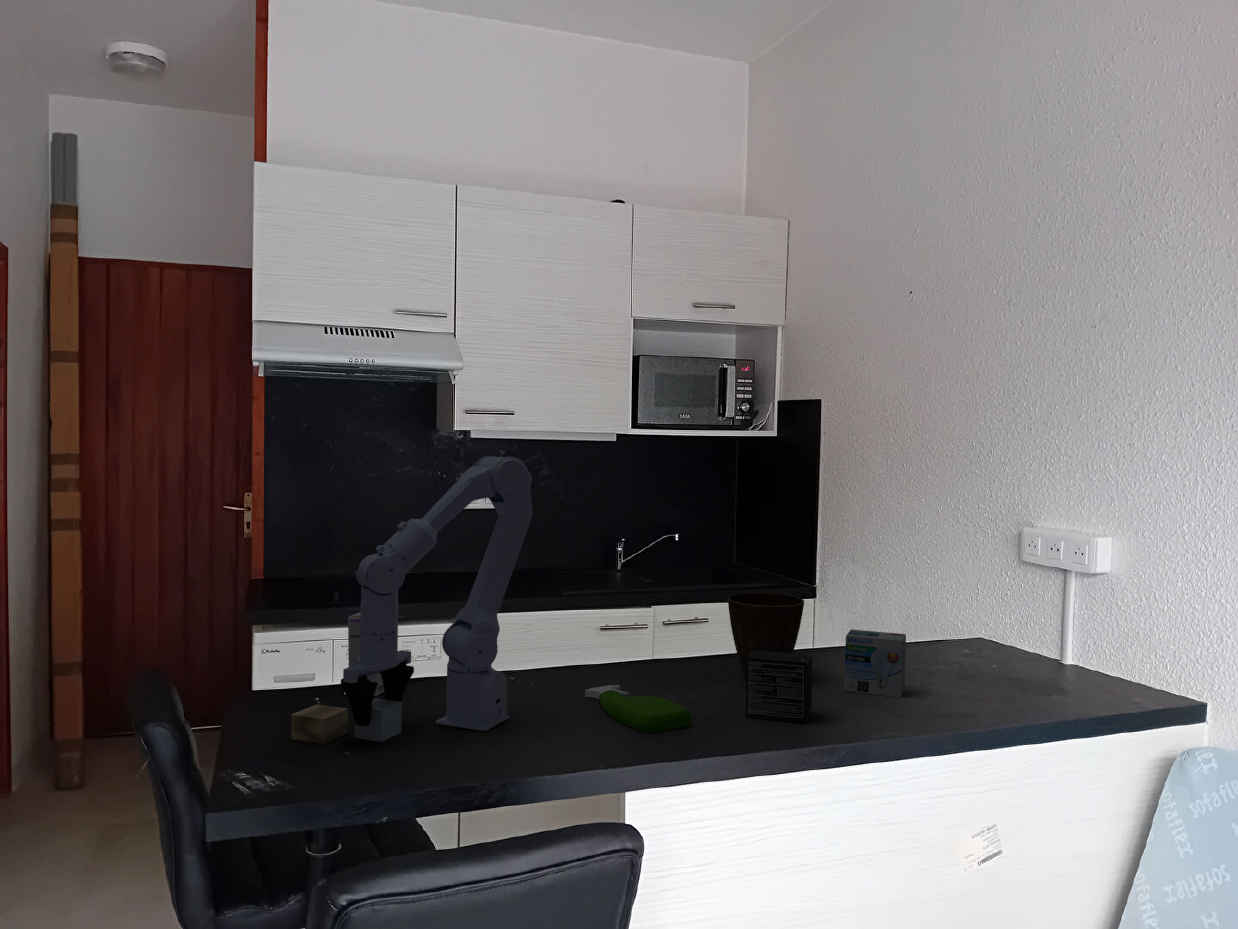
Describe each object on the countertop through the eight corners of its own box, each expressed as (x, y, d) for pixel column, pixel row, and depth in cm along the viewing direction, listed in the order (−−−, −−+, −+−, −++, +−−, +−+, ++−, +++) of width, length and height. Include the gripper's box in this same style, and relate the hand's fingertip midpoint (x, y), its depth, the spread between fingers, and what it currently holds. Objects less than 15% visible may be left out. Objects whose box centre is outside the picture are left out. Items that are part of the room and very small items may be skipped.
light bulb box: (843, 692, 174) (844, 634, 174) (848, 683, 180) (849, 628, 180) (902, 698, 170) (903, 640, 170) (905, 689, 176) (906, 633, 176)
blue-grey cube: (401, 733, 146) (401, 701, 146) (381, 742, 141) (381, 710, 141) (375, 729, 148) (375, 698, 148) (354, 738, 143) (355, 706, 143)
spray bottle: (641, 737, 146) (571, 701, 168) (698, 728, 152) (623, 694, 173) (641, 719, 146) (571, 685, 168) (698, 710, 152) (623, 678, 173)
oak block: (348, 733, 146) (348, 708, 145) (323, 745, 140) (323, 719, 140) (316, 729, 148) (316, 704, 148) (291, 740, 142) (291, 714, 142)
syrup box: (377, 696, 166) (378, 616, 166) (347, 694, 167) (347, 614, 167) (391, 688, 172) (392, 610, 171) (362, 686, 173) (362, 609, 172)
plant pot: (817, 679, 183) (818, 598, 182) (776, 694, 172) (778, 608, 171) (753, 666, 193) (754, 590, 192) (711, 679, 181) (712, 598, 181)
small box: (812, 714, 159) (813, 653, 159) (807, 725, 153) (808, 661, 153) (751, 707, 163) (752, 648, 162) (744, 718, 156) (745, 656, 156)
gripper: (386, 621, 152) (385, 703, 153) (327, 637, 139) (326, 727, 139) (422, 625, 150) (421, 709, 150) (365, 642, 136) (364, 734, 136)
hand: (377, 718), depth 144 cm, fingers open, 7 cm apart
